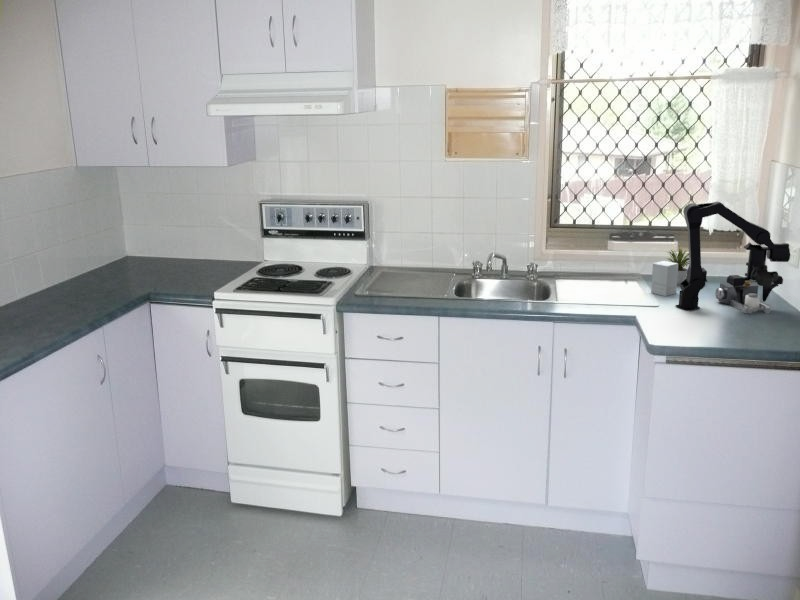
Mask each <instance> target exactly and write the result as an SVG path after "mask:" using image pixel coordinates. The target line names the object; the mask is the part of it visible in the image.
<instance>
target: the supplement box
mask: <svg viewBox="0 0 800 600" xmlns="http://www.w3.org/2000/svg"><path fill="white" fill-rule="evenodd" d="M677 276H678V263H673V262H672V261H669V260H668V261H667V260H661V261H657V262H656V261H655V262H653V263H652V271H651V286H650V287H651V288H650V294H656V295H660V296H664V297H667V296H671V295H674V294H677Z"/></svg>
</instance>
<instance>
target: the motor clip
mask: <svg viewBox="0 0 800 600" xmlns="http://www.w3.org/2000/svg"><path fill="white" fill-rule="evenodd" d="M743 286H745V288H744V289H743V299H742V303H740V302H739V299H738V296H737V294H736V291H735V289H734V287H733V286H732V285H730V284H729V283H727V282H720V284H719V287H717V288H716V289H715V292H714V294H715V298H716V299H717V300H718V301H719V302H721V303H722V304H724V305H731V306H732V307H734V308H736V310H739V311H741V312H742V313H744V314H749V315H751V314H752V313H753V312H752V308H748V307H746V306H744V305H745V296H746V295H748V294H749V293H755V294H758V292H759V285H758V284H756V283H755V282H746V283H745V284H744V285H743ZM759 310H761V311H763V313H764V314H769V313H770V312H771V306H769V305H766V304H765V303H763V302H761V301H760V304H759Z"/></svg>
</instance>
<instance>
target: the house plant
mask: <svg viewBox="0 0 800 600" xmlns="http://www.w3.org/2000/svg"><path fill="white" fill-rule="evenodd" d="M687 251H689V247H688V248H686V249H685V250H684V251H683V247H681V246H679V247H678V253H677V252H676V251H674V250H673V249H672V248H671V249H670V250H668V251H667V252H668V254H669V256H670V257H669V258H668V257H667V258H666V260H668V261H669V262H673V263H678V276H677V285H678V286H680V285H679V284H680V283H681V282H683V281H684V280H685V279H686V276H687V270H688V268H687V267H688V265H689V252H688V253H687ZM686 253H687V254H686ZM685 254H686V255H685ZM684 255H685V256H684Z"/></svg>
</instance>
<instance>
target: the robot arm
mask: <svg viewBox="0 0 800 600" xmlns="http://www.w3.org/2000/svg"><path fill="white" fill-rule="evenodd" d="M682 211H683V216H684V221H685V223H686V224H685V225H686V227H687V234H688V235H687V239H688V240H687V241H688V248H689V249H688V253H689V255H688V258H689V260H688V261H689V262H688V263H689V264H688V266H687V269H688V270H687V275H686V278H685V280H684V281H683V282H681V283H680V284H679V285H678V286H679V288H680V289H681V290H679V298H678V299H679V300H678V304H675V307H676V308H678V309H682V310H685V311H692V310H700V309H701V307H700V306H699V299H700V297H699V293H700V292H701V290H703V289H704V287H705V286H706V283H707V282H708V279H707V274H708V271H707V270H706V269H705V268H704V267H702V257H701V255H702V254H701V252H702V251H701V250H702V249H701V227H702V224H703V218H707V217H711V216H714V215H719V216H720V217H722V218H723V219H725V220H726V221H728V222H729V223H730V224H733V225H734V226H735V227H737V228H738V229H740V230H741V231H742V232H743V233H744V234H745V235H746V237H748V239H749V238H750V240H751V241H753V242H754V243H756V244H752V243H751V242H750V241H749V242H748V243H747V244H745V245H744V246H743V248H744V249H745V250H746V251H749V253H748V262H745V266H747V271H746V272H744V276H745V277H743V276H742V275H738V274H731V275H730V274H729V275H728V276H727V278H726V283H729V284H730V285H732V286H733V287H734V289H735V291H736V294H737V296H738V299H739V302H740V303H742V299H743V289H744V288H745V286H743V285H744V284H745V283H746V282H752V283H757V284H756V285H758V286H761V287H762V293H761V294H762V297H761V299H762V302H766V301H767V300H768V297H769V296H770V293H771V292H772V291H773V290H774V289H775V288H776V287H779V285H783V283H784V278H783V276H781V275H779V273H778V272H777V271H774V270H773V271H768V265H767V264H766V261H767V260H769V262H773V263H776V262H777V263H788V262H790V259H791V249H790V244H789V243H786V242H783V243H774V242H773V240H772V239H771V232H770V231H769V230H767V228H764V227H763V226H760V225H758V224H756V223H753V222H750V221H748V220H746V219H745V218H743V216H740V215H739V214H738V213H735V212H734V211H733V210H731V209H729V207H727V206H725V205H724V203H722V202H721V201H713V202H707V203H706V202H704V203H699V204H696V203H694V202H693V203H688V204H687V205H686V206H684V208H683V210H682ZM762 245H764V246H762Z"/></svg>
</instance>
